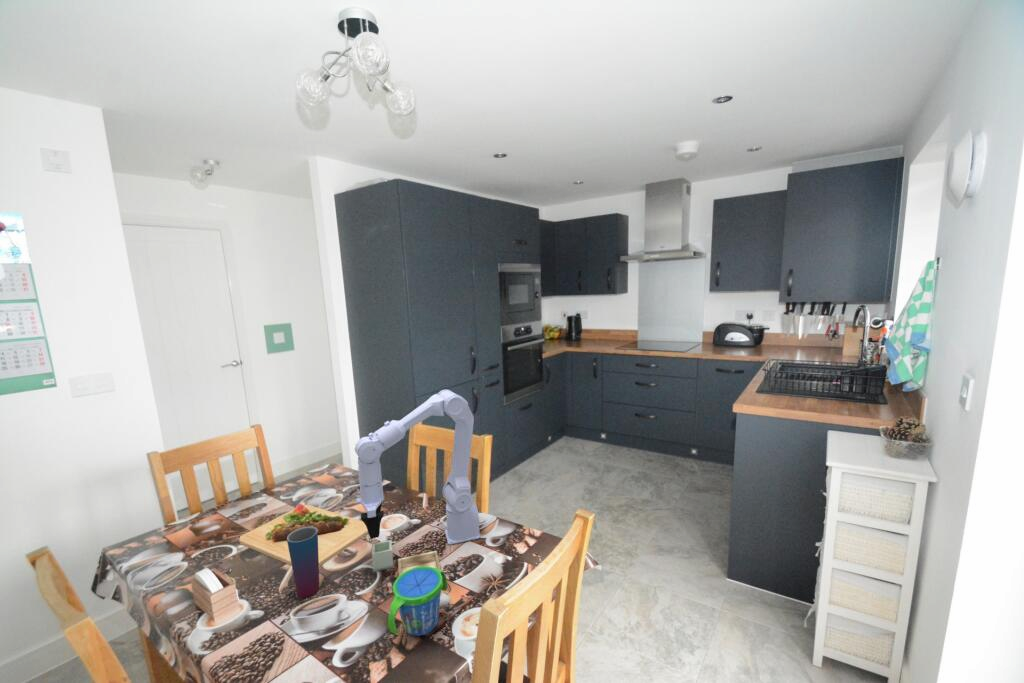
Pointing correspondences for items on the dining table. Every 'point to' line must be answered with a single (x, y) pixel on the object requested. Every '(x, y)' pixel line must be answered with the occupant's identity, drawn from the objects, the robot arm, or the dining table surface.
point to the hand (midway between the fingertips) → (375, 529)
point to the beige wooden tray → (418, 561)
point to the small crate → (382, 556)
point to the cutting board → (331, 526)
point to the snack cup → (417, 600)
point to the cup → (304, 560)
